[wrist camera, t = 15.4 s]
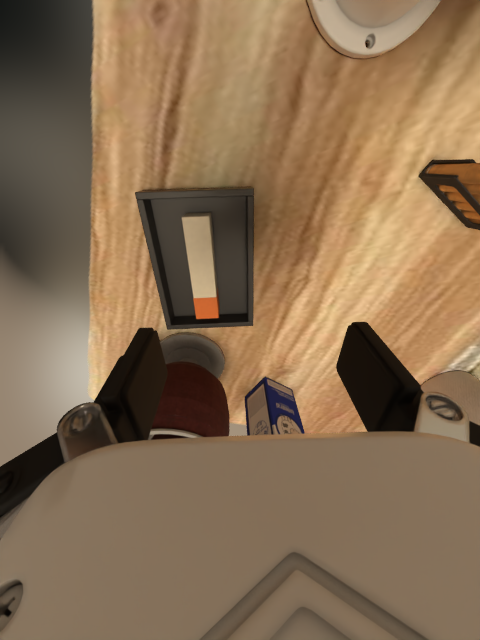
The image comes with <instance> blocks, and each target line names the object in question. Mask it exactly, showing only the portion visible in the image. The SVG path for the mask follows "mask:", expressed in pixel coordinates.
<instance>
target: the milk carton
mask: <svg viewBox="0 0 480 640" xmlns="http://www.w3.org/2000/svg"><path fill="white" fill-rule="evenodd" d="M245 408H246V422H247V436H249V435H277V434H305V433H304V429H303V426H302V422H301V419H300V415H299V412H298V408H297V405H296V401H295V398H294V395H293V391H292V390H291V389H289V388H287V387H285V386H283V385H281V384H279V383H277V382H275V381H273V380H271V379H269V378H266V377H264V378H263V379H262V380H261V381H260V382H259V383H258V384H257V385H256V386H255V387H254V388H253V389H252V390H251V391H250V392H249V393H248V394H247V395H246V396H245Z"/></svg>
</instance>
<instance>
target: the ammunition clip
mask: <svg viewBox="0 0 480 640" xmlns="http://www.w3.org/2000/svg"><path fill="white" fill-rule="evenodd" d="M419 177H420V178H421V179H422V180H423V181H424V182H425V183H426V184H427V186H428V187H429V188H430V189H431V190H432V191H433V192H434V193H435V194H436V195H437V196H438V197H439V198H440V199H441V200H442V201H443V202H444V204H445V205H446V206H447V207H448V208H449V209H450V210H451V211H452V212H453V213H454V214H455V215H456V216H457V217H458V218H459V219H460V220H461V222H462V223H463V224H464V225H465V226H466V227H468V228H473V229H478V230H480V163H476V162H475V161H474V160H473V159H466V160H433V161H432V162H431V163H430V164H429V165H428V166H427V167H426V168H425V170H424V171H423V172H422V173H421V174H420V176H419Z"/></svg>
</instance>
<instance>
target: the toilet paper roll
mask: <svg viewBox="0 0 480 640" xmlns="http://www.w3.org/2000/svg"><path fill="white" fill-rule="evenodd" d="M421 389H422V391H423V392H424V393H425V392H431V391H432V392H439V393H442V394H445V395H447V396H449V397H451V398H453V399H454V400H456V401H457V402H459V403H460V404H461V405H462V406H463V407H464V408H465V410H466V411H467V413H468V416H469V421H471V422H473V423H476V424H478V425H480V381H479V380H478V379H476V378H475V377H474V376H472V375H471V374H470V373H468V372H464V371H451V372H446V373H443V374H440V375H437V376H435V377H433V378H431V379H429V380H428V381H426V382H425V383H423V384H422V385H421Z"/></svg>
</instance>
